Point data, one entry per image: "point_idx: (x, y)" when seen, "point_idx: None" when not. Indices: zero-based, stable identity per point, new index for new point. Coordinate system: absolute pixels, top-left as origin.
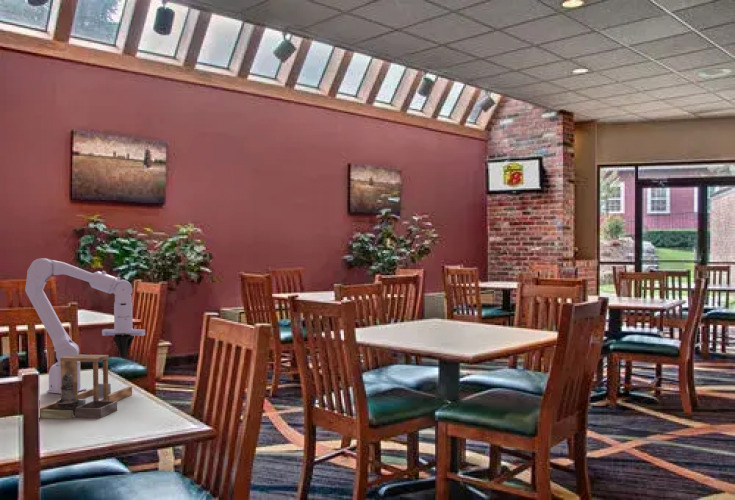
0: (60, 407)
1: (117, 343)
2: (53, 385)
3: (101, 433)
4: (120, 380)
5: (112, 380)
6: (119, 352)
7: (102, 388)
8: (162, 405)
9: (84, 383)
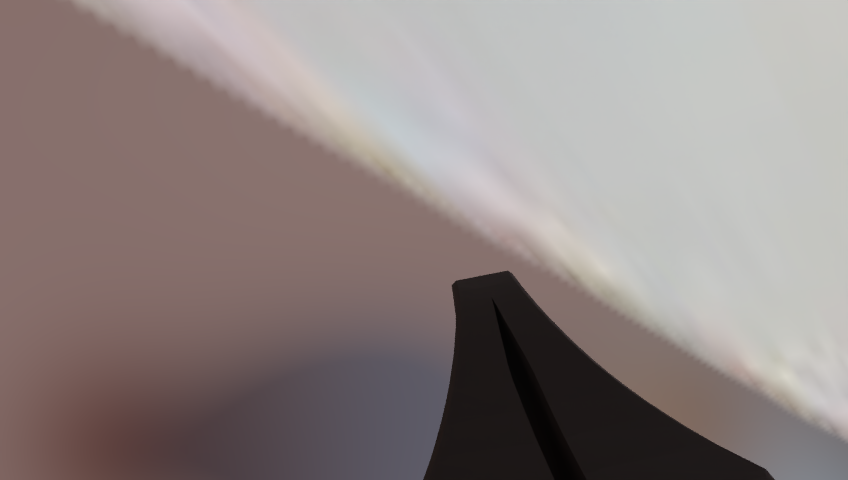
0: None
1: (620, 422)
2: None
3: None
4: (603, 289)
5: (661, 273)
6: (537, 311)
7: None
8: None
9: (835, 138)
